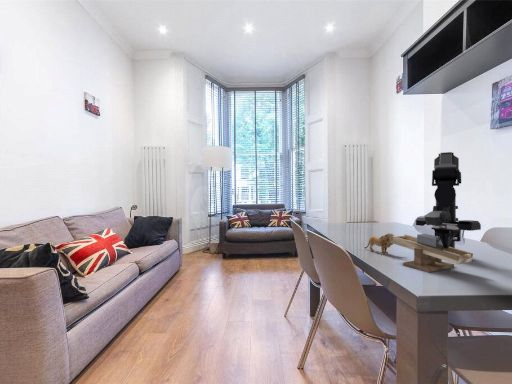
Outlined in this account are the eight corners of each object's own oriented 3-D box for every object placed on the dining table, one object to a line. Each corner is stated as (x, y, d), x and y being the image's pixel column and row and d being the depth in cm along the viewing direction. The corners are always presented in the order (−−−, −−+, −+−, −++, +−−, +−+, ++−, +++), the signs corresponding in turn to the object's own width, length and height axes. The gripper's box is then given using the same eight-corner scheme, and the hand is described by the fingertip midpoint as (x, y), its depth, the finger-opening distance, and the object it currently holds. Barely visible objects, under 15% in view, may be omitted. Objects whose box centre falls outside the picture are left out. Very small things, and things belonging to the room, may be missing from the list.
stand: (427, 260, 114) (427, 242, 113) (454, 266, 105) (454, 247, 104) (402, 265, 108) (402, 246, 107) (428, 272, 98) (428, 251, 98)
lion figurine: (398, 254, 125) (398, 233, 125) (391, 256, 122) (391, 234, 122) (367, 248, 137) (367, 229, 137) (360, 250, 134) (360, 230, 134)
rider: (424, 245, 109) (425, 233, 109) (443, 250, 103) (444, 238, 103) (416, 246, 107) (417, 234, 107) (434, 252, 101) (436, 239, 100)
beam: (405, 240, 119) (405, 234, 119) (472, 261, 97) (473, 253, 96) (391, 242, 115) (391, 236, 115) (457, 264, 93) (458, 256, 93)
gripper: (405, 202, 105) (405, 246, 105) (460, 204, 88) (461, 256, 88) (425, 202, 110) (425, 243, 110) (481, 203, 93) (482, 252, 93)
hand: (446, 248), depth 100 cm, fingers closed
